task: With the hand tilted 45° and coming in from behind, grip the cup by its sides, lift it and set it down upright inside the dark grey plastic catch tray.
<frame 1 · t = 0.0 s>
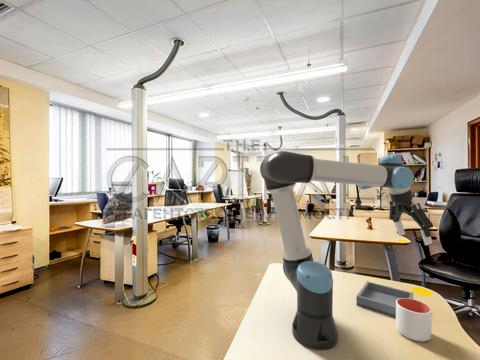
hand: (414, 239, 102), 28 cm above the table, tool tilted 20°, fingers open, 13 cm apart
cup: (412, 334, 84), on the table
catch tray: (385, 303, 104), on the table
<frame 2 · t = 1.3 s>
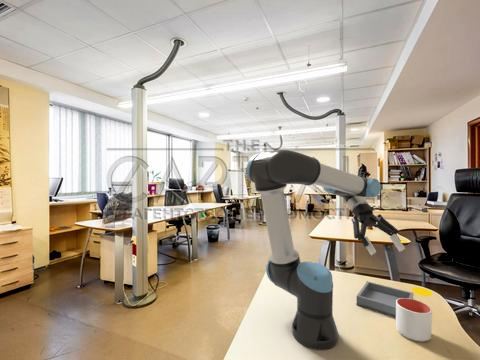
hand: (388, 251, 94), 25 cm above the table, tool tilted 45°, fingers open, 13 cm apart
nothing on the table moved.
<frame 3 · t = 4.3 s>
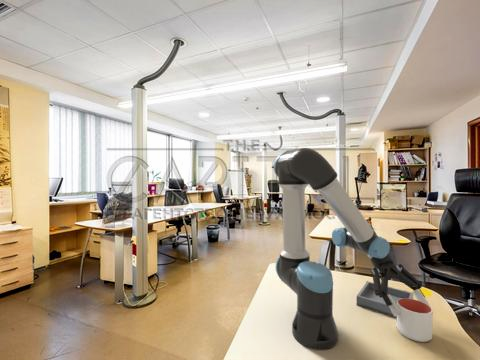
hand: (413, 312, 86), 7 cm above the table, tool tilted 45°, fingers open, 13 cm apart
nothing on the table moved.
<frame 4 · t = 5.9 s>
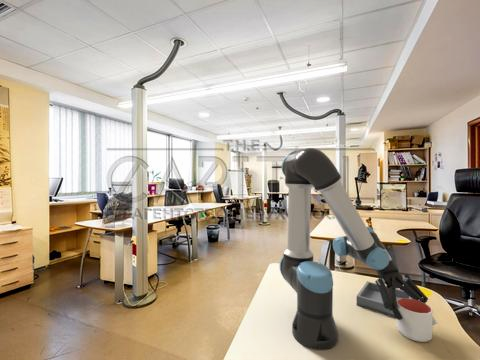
hand: (421, 327, 81), 4 cm above the table, tool tilted 45°, fingers closed on cup, 10 cm apart
cup: (413, 334, 84), on the table, touching gripper
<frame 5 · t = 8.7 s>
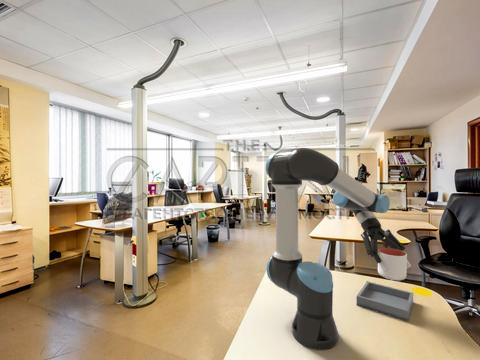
hand: (397, 268, 97), 17 cm above the table, tool tilted 45°, fingers closed on cup, 10 cm apart
cup: (391, 276, 100), point 13 cm above the table, touching gripper
when the fingers open (6 cm above the table, at t = 11.6 s): cup stays where it is, resting on catch tray.
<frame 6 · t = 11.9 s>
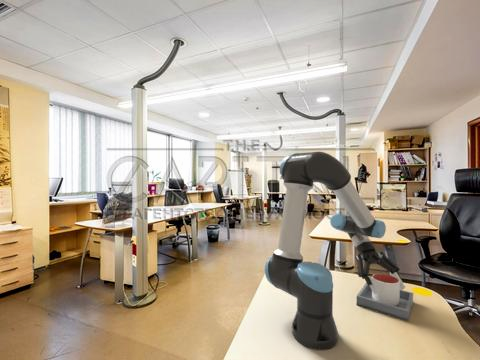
hand: (390, 290, 101), 7 cm above the table, tool tilted 45°, fingers open, 13 cm apart
cup: (385, 302, 104), point 1 cm above the table, touching catch tray
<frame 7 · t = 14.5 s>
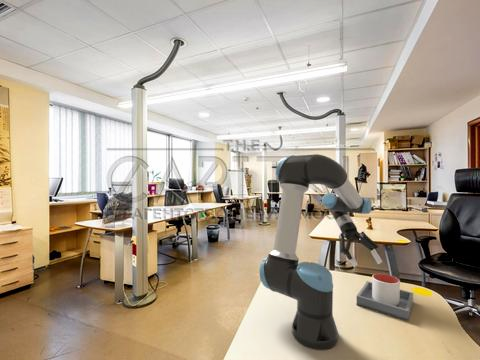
hand: (368, 264, 113), 13 cm above the table, tool tilted 45°, fingers open, 13 cm apart
nothing on the table moved.
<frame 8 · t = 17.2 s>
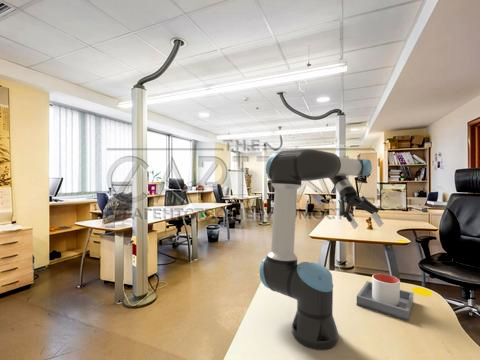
hand: (368, 226, 110), 32 cm above the table, tool tilted 45°, fingers open, 13 cm apart
nothing on the table moved.
at the end: cup inside the target area on the catch tray (0.2 cm from its centre), point 0.8 cm above the catch tray's base; cup tilted 0°; the gripper is holding nothing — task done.
